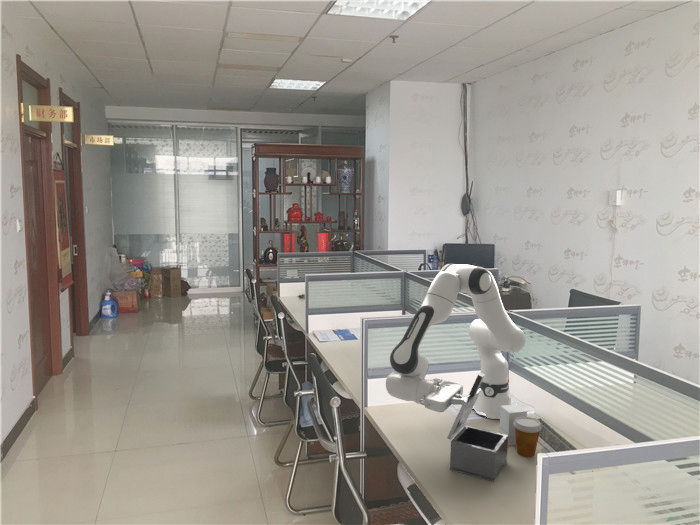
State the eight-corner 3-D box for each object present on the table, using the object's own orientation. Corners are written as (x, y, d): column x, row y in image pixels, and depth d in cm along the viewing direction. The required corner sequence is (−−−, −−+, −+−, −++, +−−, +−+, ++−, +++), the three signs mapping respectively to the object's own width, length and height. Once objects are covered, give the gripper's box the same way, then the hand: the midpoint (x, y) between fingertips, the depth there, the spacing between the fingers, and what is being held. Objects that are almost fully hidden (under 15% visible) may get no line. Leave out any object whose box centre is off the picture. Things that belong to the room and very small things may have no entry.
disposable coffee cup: (541, 451, 204) (543, 419, 203) (537, 462, 196) (539, 429, 194) (514, 445, 209) (516, 414, 207) (509, 456, 200) (511, 423, 199)
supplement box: (525, 444, 210) (527, 411, 208) (507, 445, 208) (509, 412, 207) (516, 435, 217) (518, 404, 215) (498, 436, 215) (499, 405, 214)
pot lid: (465, 424, 201) (459, 420, 202) (490, 369, 195) (484, 366, 195) (450, 440, 189) (444, 436, 190) (476, 382, 182) (470, 378, 183)
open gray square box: (464, 451, 203) (465, 425, 201) (506, 462, 195) (508, 435, 194) (449, 469, 190) (451, 441, 189) (493, 481, 182) (495, 452, 181)
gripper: (417, 393, 190) (456, 402, 183) (440, 376, 207) (476, 384, 200) (416, 411, 191) (455, 421, 184) (439, 392, 208) (475, 401, 201)
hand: (466, 401), depth 192 cm, fingers closed, pressing on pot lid
